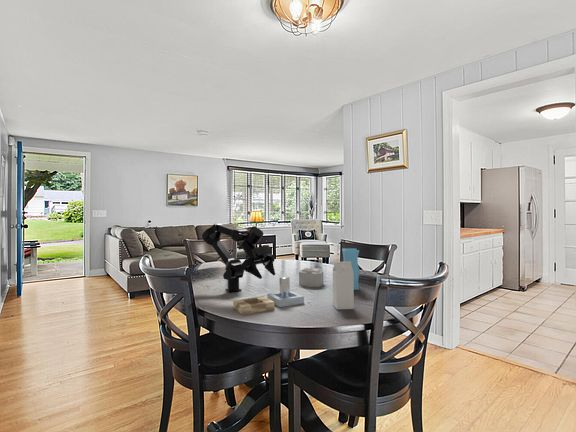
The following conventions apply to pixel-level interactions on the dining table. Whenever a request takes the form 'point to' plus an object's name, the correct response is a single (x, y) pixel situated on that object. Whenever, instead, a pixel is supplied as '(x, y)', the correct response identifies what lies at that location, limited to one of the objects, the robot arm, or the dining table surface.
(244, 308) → the tan rectangular frame
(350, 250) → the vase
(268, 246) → the robot arm
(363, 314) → the dining table surface
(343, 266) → the milk carton
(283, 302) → the seat block
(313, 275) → the lumpy-topped squat cylinder
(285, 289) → the steel axle
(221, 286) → the dining table surface
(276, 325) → the dining table surface
